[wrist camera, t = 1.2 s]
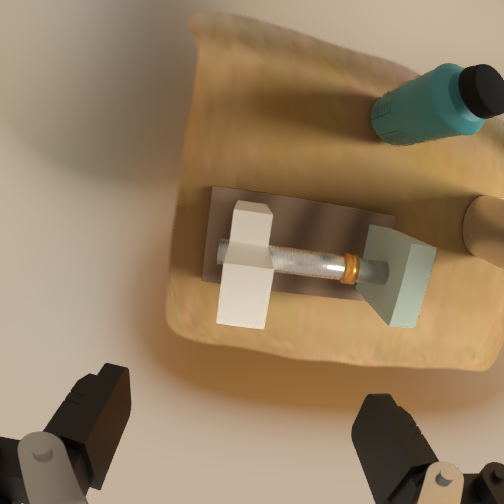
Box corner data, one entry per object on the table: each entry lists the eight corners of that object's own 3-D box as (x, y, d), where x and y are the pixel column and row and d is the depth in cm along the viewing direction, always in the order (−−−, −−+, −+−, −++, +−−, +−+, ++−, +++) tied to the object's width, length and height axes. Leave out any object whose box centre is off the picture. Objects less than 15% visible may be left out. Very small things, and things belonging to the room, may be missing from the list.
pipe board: (392, 215, 37) (397, 216, 35) (373, 297, 39) (377, 302, 38) (214, 185, 36) (212, 186, 34) (203, 277, 38) (201, 281, 37)
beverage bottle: (387, 158, 35) (499, 152, 15) (352, 115, 34) (446, 69, 14) (418, 128, 34) (531, 108, 14) (386, 87, 33) (486, 34, 13)
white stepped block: (266, 204, 33) (281, 227, 18) (254, 285, 35) (257, 361, 20) (237, 200, 33) (229, 220, 18) (226, 282, 35) (212, 356, 20)
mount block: (391, 228, 35) (437, 248, 25) (376, 290, 37) (414, 327, 27) (369, 224, 35) (411, 243, 25) (355, 288, 37) (389, 326, 27)
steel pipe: (393, 257, 31) (406, 265, 28) (387, 283, 32) (398, 293, 29) (221, 232, 30) (219, 238, 27) (218, 261, 31) (215, 270, 28)
